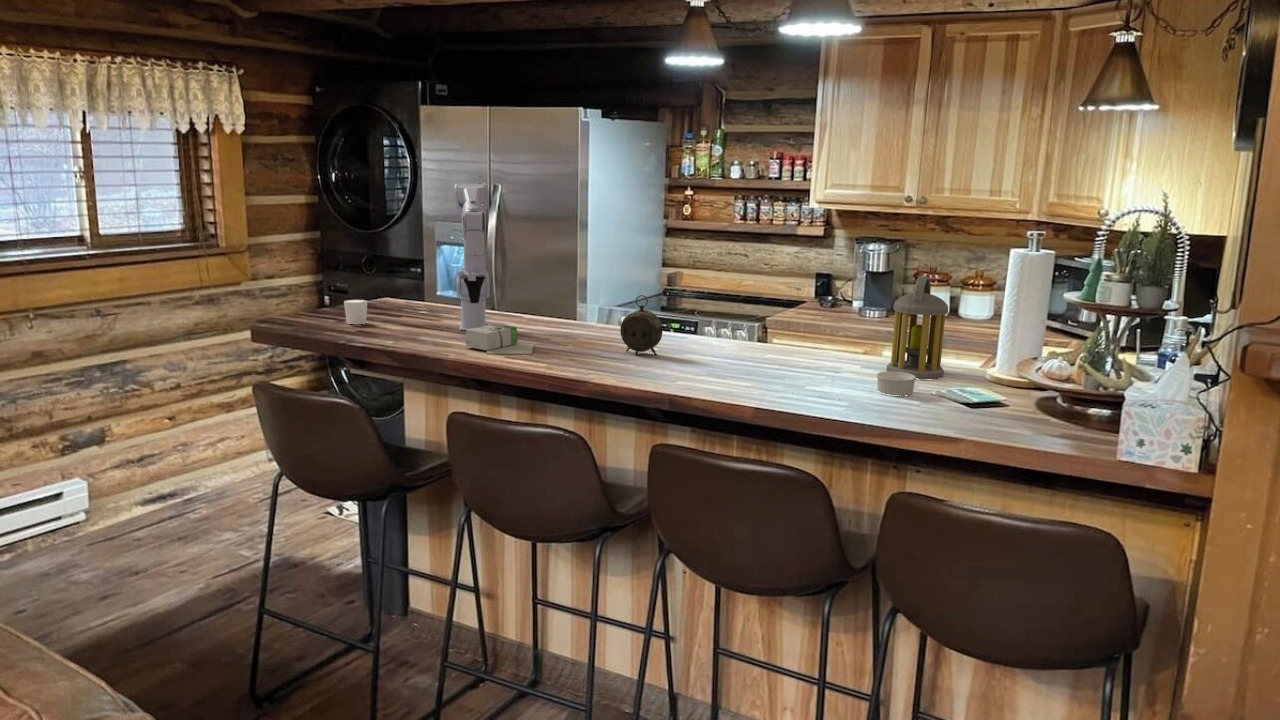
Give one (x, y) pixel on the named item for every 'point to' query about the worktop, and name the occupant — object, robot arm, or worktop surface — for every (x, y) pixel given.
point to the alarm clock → (641, 330)
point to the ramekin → (896, 383)
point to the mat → (513, 349)
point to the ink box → (491, 336)
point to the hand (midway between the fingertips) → (474, 302)
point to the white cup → (356, 311)
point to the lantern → (919, 333)
